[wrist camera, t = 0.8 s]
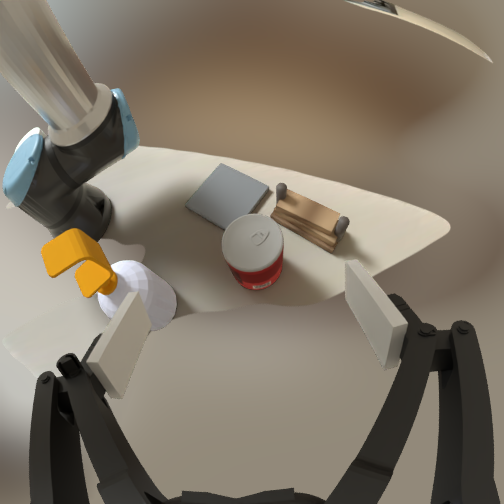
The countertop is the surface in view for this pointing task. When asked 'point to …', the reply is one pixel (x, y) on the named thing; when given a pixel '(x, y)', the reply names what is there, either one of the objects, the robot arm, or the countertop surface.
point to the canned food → (254, 250)
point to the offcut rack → (309, 218)
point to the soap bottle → (109, 277)
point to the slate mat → (226, 196)
